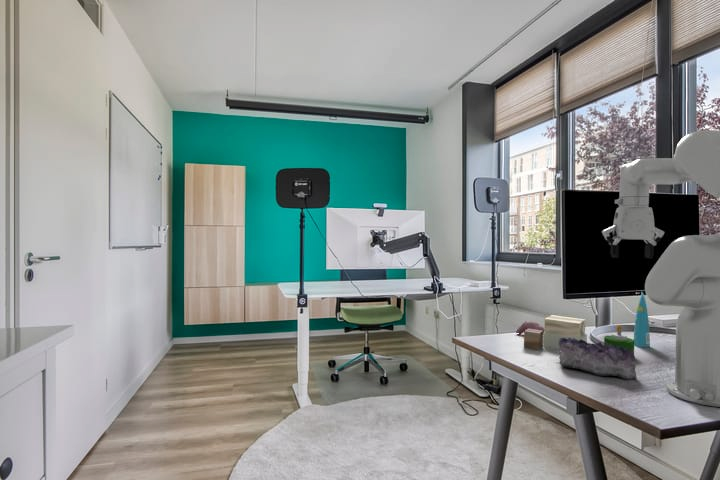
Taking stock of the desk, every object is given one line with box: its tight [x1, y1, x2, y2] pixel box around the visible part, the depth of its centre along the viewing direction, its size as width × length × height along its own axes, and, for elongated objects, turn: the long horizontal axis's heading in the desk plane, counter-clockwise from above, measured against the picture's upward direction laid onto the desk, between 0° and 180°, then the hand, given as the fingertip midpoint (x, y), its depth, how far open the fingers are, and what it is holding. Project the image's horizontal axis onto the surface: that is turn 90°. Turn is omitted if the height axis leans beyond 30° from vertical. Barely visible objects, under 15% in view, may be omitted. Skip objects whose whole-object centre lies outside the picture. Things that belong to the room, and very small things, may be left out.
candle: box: [603, 324, 635, 354], centre depth 128 cm, size 8×8×10 cm
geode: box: [558, 338, 638, 381], centre depth 113 cm, size 20×12×10 cm, turn 52°
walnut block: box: [523, 328, 544, 352], centre depth 135 cm, size 5×5×6 cm
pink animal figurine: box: [515, 320, 545, 336], centre depth 150 cm, size 10×5×7 cm, turn 22°
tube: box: [633, 291, 651, 348], centre depth 139 cm, size 7×5×19 cm, turn 150°
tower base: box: [543, 332, 588, 350], centre depth 138 cm, size 10×12×5 cm
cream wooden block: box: [544, 314, 586, 338], centre depth 138 cm, size 9×11×5 cm
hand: (631, 257), depth 122 cm, fingers open, 9 cm apart
